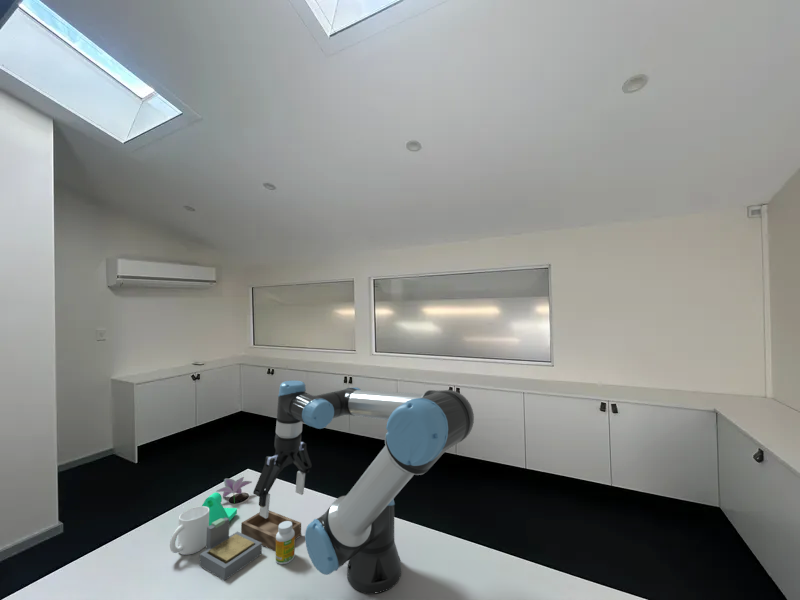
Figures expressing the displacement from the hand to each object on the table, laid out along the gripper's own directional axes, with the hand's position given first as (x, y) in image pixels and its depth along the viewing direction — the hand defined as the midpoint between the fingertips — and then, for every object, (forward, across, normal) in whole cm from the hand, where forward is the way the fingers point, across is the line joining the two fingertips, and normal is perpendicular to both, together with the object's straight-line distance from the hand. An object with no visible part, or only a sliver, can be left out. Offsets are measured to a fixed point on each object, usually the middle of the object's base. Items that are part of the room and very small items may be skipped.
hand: (282, 504), depth 98 cm
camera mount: (+22, -4, -36) cm, 42 cm away
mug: (+20, +10, -28) cm, 36 cm away
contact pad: (+16, +6, -13) cm, 21 cm away
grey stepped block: (+18, +6, -14) cm, 23 cm away
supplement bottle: (+17, -1, +2) cm, 17 cm away
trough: (+18, -7, -11) cm, 22 cm away
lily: (+23, -17, -44) cm, 52 cm away
